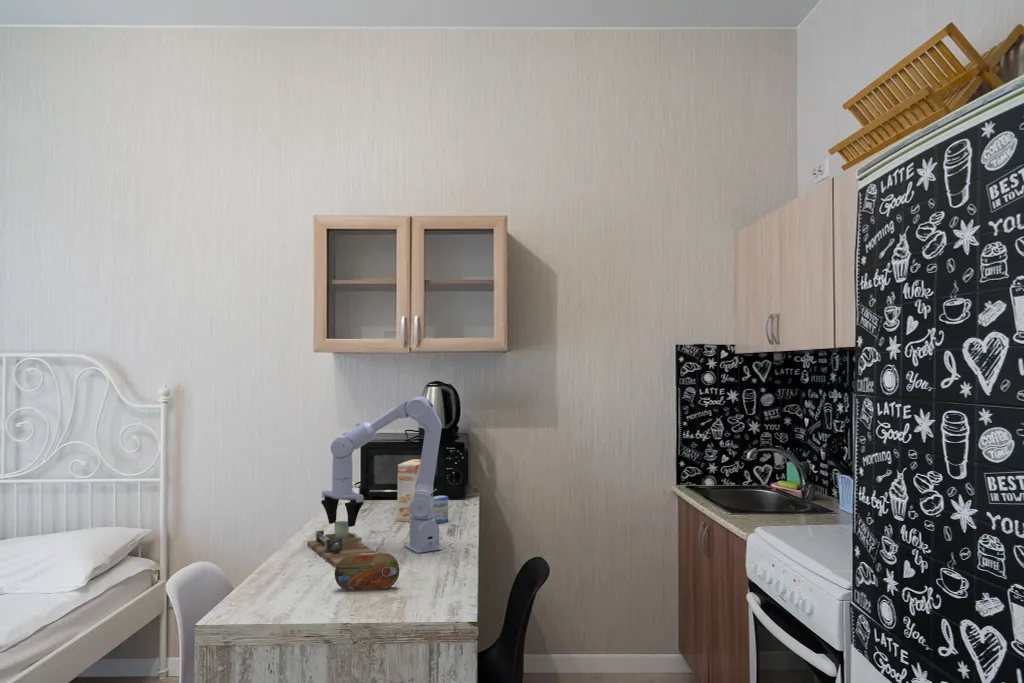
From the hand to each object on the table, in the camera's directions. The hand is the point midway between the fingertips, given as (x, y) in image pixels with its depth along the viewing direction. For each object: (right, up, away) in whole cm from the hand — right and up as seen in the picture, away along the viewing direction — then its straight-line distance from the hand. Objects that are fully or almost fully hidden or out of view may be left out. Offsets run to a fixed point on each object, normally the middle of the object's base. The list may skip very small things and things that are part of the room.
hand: (341, 524), depth 204 cm
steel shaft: (-2, -5, -6) cm, 8 cm away
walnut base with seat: (+3, -6, -7) cm, 10 cm away
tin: (+15, -5, -38) cm, 42 cm away
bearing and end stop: (-3, -5, -4) cm, 7 cm away
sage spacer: (0, -5, 0) cm, 5 cm away
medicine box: (+24, -8, +33) cm, 42 cm away
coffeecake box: (+15, -9, +42) cm, 45 cm away
